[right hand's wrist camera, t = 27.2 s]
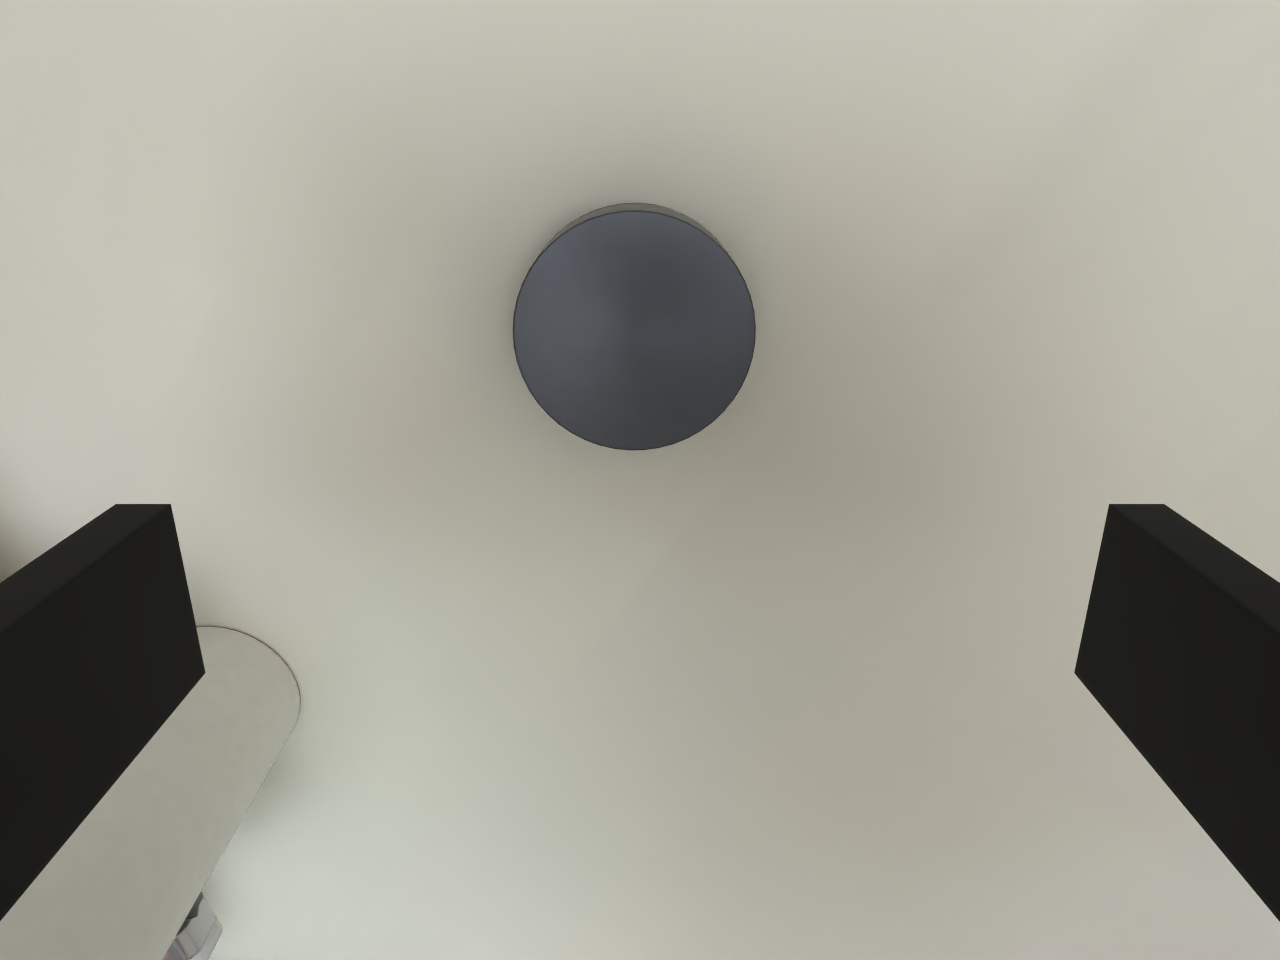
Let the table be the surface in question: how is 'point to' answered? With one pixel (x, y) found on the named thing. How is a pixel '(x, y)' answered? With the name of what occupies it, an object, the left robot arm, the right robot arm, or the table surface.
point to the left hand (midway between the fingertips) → (147, 828)
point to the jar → (162, 816)
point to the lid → (634, 327)
